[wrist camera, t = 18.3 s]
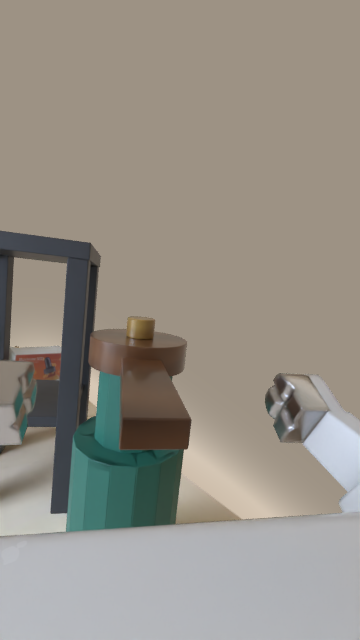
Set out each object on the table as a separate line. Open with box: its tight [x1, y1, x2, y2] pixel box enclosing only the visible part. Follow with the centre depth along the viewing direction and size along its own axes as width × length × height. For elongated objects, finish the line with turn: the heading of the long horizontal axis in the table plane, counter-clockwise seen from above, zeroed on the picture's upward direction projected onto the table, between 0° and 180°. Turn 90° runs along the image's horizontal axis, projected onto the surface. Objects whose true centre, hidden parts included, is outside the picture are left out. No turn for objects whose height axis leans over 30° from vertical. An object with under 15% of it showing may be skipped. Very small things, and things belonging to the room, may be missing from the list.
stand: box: [0, 231, 101, 514], centre depth 31 cm, size 12×12×26 cm
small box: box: [9, 346, 61, 380], centre depth 48 cm, size 8×6×10 cm
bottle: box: [66, 371, 184, 532], centre depth 21 cm, size 8×8×17 cm
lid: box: [88, 316, 191, 450], centre depth 17 cm, size 15×7×3 cm, turn 12°
